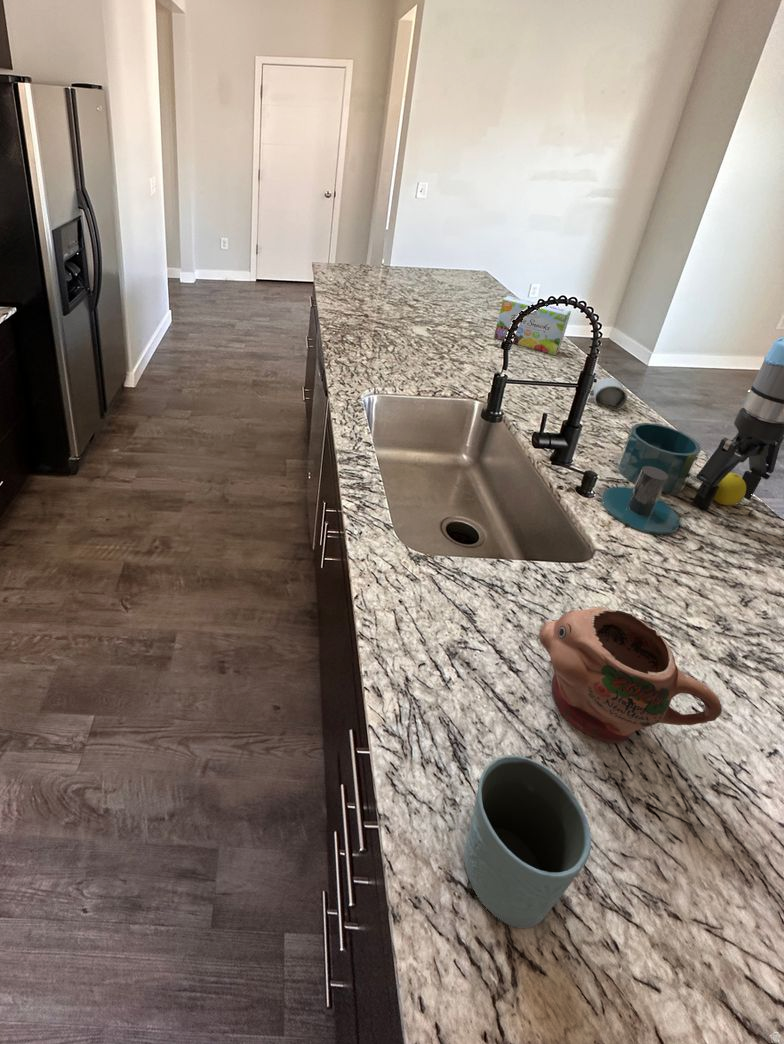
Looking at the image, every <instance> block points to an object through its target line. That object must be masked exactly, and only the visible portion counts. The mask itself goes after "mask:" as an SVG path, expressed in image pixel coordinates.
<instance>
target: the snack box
mask: <svg viewBox="0 0 784 1044" xmlns="http://www.w3.org/2000/svg"><path fill="white" fill-rule="evenodd" d="M534 303H537V302H535V301H531V300H527V299H523V298H519V297H515V296H510V295H506V296H505V297H504V298H502V301H501V305H500V310H499V314H498V319H497V323H496V327H495V330H494V331H495V332H494V335H493V338H494V339H498V340H501V341H504V339H505V337H506V335H507V332H508V330H509V328H510V325H511V322H512V321H513V320H514V319H515V318H516V316H517V315H518V314H519V313H520V312H521V311H522V310H524V309H525V308H526V307H528V306H530V305H532V304H534ZM571 312H572V311H571V310H568V309H565V308H562V307H561V308H560V307H556V306H552V305H548V306H547V307H544V308H541V309H538V310H536V311H534V312H533V313H531V314H529V315H527V316H526V317H525V318H524V319H523V320H522V322H521V323H520V325H519V327H518V329H517V332H516V334H515V338H514V341H513V343H512V344H515V345H519V346H522V347H525V348H529V349H532V350H535V351H538V352H542V353H545V354H550V355H552V356H556V355H557V354H558V353H559V352H560V350H561V347H562V344H563V340H564V337H565V333H566V330H567V326H568V323H569V320H570V318H571Z"/></svg>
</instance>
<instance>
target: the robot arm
mask: <svg viewBox="0 0 784 1044" xmlns="http://www.w3.org/2000/svg"><path fill="white" fill-rule="evenodd" d="M757 372H758V373H757V374H756V377H755V379H754V381H753V383H752V385H751V387H750V389H748V390H747V396H746V398H745V400H744V401H743V403H742V407H741V408H740V409H739V411H738V413H737V415H736V417H735V419H734V422H733V424H734V426H735V428H736V429H737V433H736V435H734V437H733V439H729V438H727V437H723V438H722V439H721V441H720V442H719V444H718V446H717V448H716V449H715V451H714V452H713V453H712V454H711V456H710V457H709V459H708V460H707V461H706V463H705V464H704V465H703V466H702V468H701V469H700V471H698V473H697V474H696V476H695V478H696V479H697V480H699V481H700V482H701V484H700V486H699V487H698V490H697V492H696V494H695V496H694V497H693V500H692V504H693V505H695V506H697V507H698V508H700V509H701V510H702V511H704V512H707V511H709V509H710V506H711V505H712V502H713V501H714V497H715V495H716V493H717V491H718V489H719V486H718V485H717V484H718V483H719V482H720V481H721V480H722V479H723V478H724V477H725V476H726V475H727V474H728V473H731V472H732V471H733V470H734V469H735V468H736V466H738V464H740V463H744V462H746V461H747V459H748V467H749V468H748V469H749V470H745V471H744V473H743V475H742V477H741V478H742V479H743V480H744V482H745V484H746V493H745V496H744V497H743V499H746V500H747V501H749V500H751V499H752V498H753V495H754V493H755V491H756V490H757V488H758V486H759V484H760V482H761V480H762V479H764V480H765V481H766V480H769V479H770V478H771V475H770V474H773V473H774V471H775V468H776V464H777V459H778V455H779V452H780V448H781V444H782V443H783V441H784V336H781V337H779V338H777V339H775V341H774V342H773V343H772V346H771V347H770V348H769V350H768V352H767V354H766V355H765V356H764V358H763V362H762V363H761V366H760V368H759V371H757ZM751 494H752V495H751Z"/></svg>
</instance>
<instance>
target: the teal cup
mask: <svg viewBox="0 0 784 1044" xmlns="http://www.w3.org/2000/svg"><path fill="white" fill-rule="evenodd" d="M477 786H478V787H477V791H476V796H475V803H474V806H473V813H472V818H471V821H472V822H471V825H470V828H469V831H468V833H467V835H466V840H465V845H464V851H463V857H464V858H463V859H464V861H463V862H464V867H465V871H466V875H467V877H468V878H467V879H468V881H469V883H470V885H471V888H472V890H474V891H475V892H474V891H473V892H474V893H475V896H476V895H477V896H476V898H477V899H478V898H479V899H478V901H479V900H480V901H481V902H482V903H481V902H480V901H479V902H480V903H481V905H482V904H483V905H484V906H485V907H486V908H485V907H484V906H483V905H482V906H483V907H484V908H485V910H487V909H488V910H489V911H490V912H491V913H492V914H493V915H494V916H493V915H492V914H491V913H490V912H489V911H488V910H487V911H488V912H489V913H490V914H491V915H492V916H493V917H494V918H496V917H497V918H498V919H497V918H496V919H497V920H499V919H500V920H501V921H503V922H504V923H503V922H502V923H503V924H505V923H506V924H505V925H507V924H509V925H508V926H510V925H511V926H510V927H513V926H514V927H513V928H517V927H519V928H518V929H528V928H533V927H535V926H537V925H538V924H540V923H541V922H542V921H544V919H545V917H546V916H547V915H548V914H549V912H550V911H551V909H553V908H554V906H555V905H556V904H557V903H558V901H559V899H560V898H561V897H562V896H563V895H564V893H565V892H566V891H567V889H569V887H570V885H572V883H573V881H574V880H575V879H576V877H578V875H579V873H580V872H581V871H582V870H583V869H584V867H585V865H586V863H588V860H589V859H590V855H591V851H592V834H591V828H590V825H589V822H588V818H587V816H586V813H585V811H584V809H583V807H582V805H581V804H580V801H579V800H578V798H577V797H576V795H575V794H574V792H573V791H572V790H571V789H570V788H569V786H568V785H567V784H566V783H565V781H564V780H562V779H561V777H559V776H558V775H557V774H556V773H555V772H553V771H552V770H551V769H550V768H548V767H546V766H545V765H543V764H542V763H540V762H537V761H536V760H533V759H532V758H529V757H525V756H521V755H508V754H507V755H504V756H500V757H497V758H496V759H493V760H492V761H491V762H490V763H489V764H487V766H486V767H485V768H484V769H483V771H482V773H481V775H480V777H479V781H478V785H477ZM500 920H499V921H500ZM501 921H500V922H501Z"/></svg>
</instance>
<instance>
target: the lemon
mask: <svg viewBox="0 0 784 1044" xmlns="http://www.w3.org/2000/svg"><path fill="white" fill-rule="evenodd" d="M717 485H718V486H719V489H718V491H717V493H716V495H715V497H714V499H713V501H715V502H717V503H718V504H720V505H723V506H733V505H737V504H738V503H740V502H741V501H742V500H743V499H744V496H745V493H746V484H745V482H744V480H743V479H742V477H741V476H740V475H738V474H737V473H736V472H729V473H728V474H727V475H726V476H725V477H724V478H723V479H722V480H721V481H720V482H719V483H718V484H717Z"/></svg>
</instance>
